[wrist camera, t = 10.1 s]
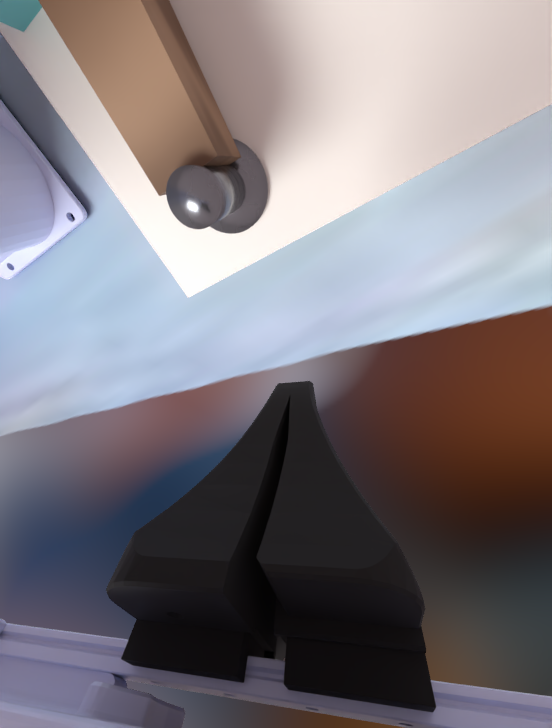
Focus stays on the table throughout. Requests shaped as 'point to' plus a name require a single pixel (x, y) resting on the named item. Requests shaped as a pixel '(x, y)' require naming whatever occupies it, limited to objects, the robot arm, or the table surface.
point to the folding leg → (156, 101)
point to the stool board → (310, 107)
